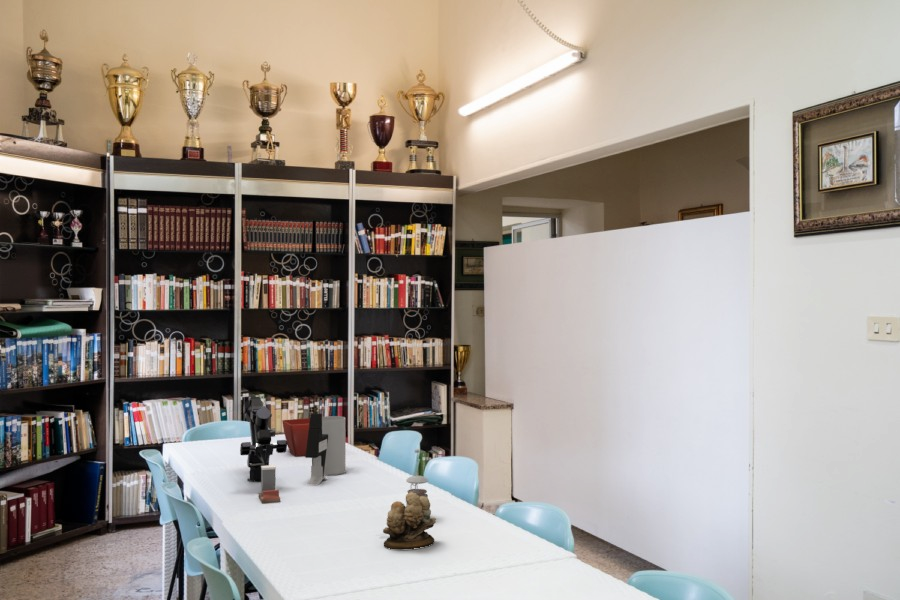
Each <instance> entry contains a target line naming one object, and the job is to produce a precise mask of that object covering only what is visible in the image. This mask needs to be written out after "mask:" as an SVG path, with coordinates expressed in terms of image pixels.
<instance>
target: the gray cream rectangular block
mask: <svg viewBox="0 0 900 600" xmlns="http://www.w3.org/2000/svg"><path fill="white" fill-rule="evenodd" d="M276 467H277V466H275V464H269V465H267V466H261V481H260V482H261V483H260V484H261V486H260V487H261V488H260V489H261V490H260V493H262V495H263V491H269V490H276Z"/></svg>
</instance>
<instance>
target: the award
mask: <svg viewBox="0 0 900 600" xmlns="http://www.w3.org/2000/svg"><path fill="white" fill-rule="evenodd" d="M309 414H310V416H309V418H310V422H309V428H310V429H309V431H308V439H307V447H306V455H305V456H304V457H305V458H307V459H311V465H310V477H309V479H308V482H307V485H311V484H314V485H313V486H317V485H320V484H321V483H322V482H323V480H325V481H326V480H328V479H327V477H326V475H325V466H326V465H325V459H326V451H327V443H328V434H322V417H323V414H322V413H317V412H316V413H315V412H314V413H312V412H311V413H309Z"/></svg>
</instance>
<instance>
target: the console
mask: <svg viewBox="0 0 900 600" xmlns="http://www.w3.org/2000/svg"><path fill="white" fill-rule="evenodd" d="M258 498H259V501H260V503H261V504H271V503H273V504H274V503H281V496H280V490H279V489H275V490H269V491H263V495H262V493H261V492H258Z"/></svg>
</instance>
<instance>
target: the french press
mask: <svg viewBox="0 0 900 600" xmlns="http://www.w3.org/2000/svg"><path fill="white" fill-rule="evenodd" d="M414 453H415V454H416V461H418V456H419V455H418V454H419V453H421V451H420V449H418V448H415V450H414ZM405 481H406V483H409V484H410V487H412V486H414V488H410V489H408V490H407V494H408V493H410V492H412V493H416V494H417V495H418V496H419V497H421V496H424V497H427V498H428V499H429V497H428V494H427V492H428V490H427V489H424V488H417V486H418V485H421V484H426V483H428V482H429V479H428V478H427V477H425V476H423V475H419V474H416V475H412V476H409V477H407V478H406V479H405ZM406 506H407V503H406V505H405V507H406Z"/></svg>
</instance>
